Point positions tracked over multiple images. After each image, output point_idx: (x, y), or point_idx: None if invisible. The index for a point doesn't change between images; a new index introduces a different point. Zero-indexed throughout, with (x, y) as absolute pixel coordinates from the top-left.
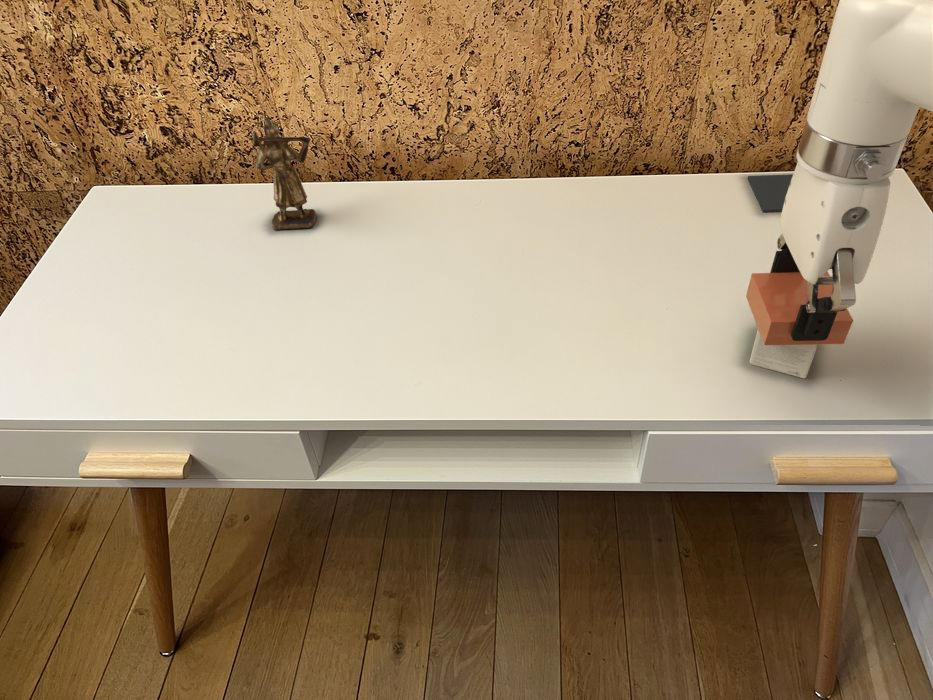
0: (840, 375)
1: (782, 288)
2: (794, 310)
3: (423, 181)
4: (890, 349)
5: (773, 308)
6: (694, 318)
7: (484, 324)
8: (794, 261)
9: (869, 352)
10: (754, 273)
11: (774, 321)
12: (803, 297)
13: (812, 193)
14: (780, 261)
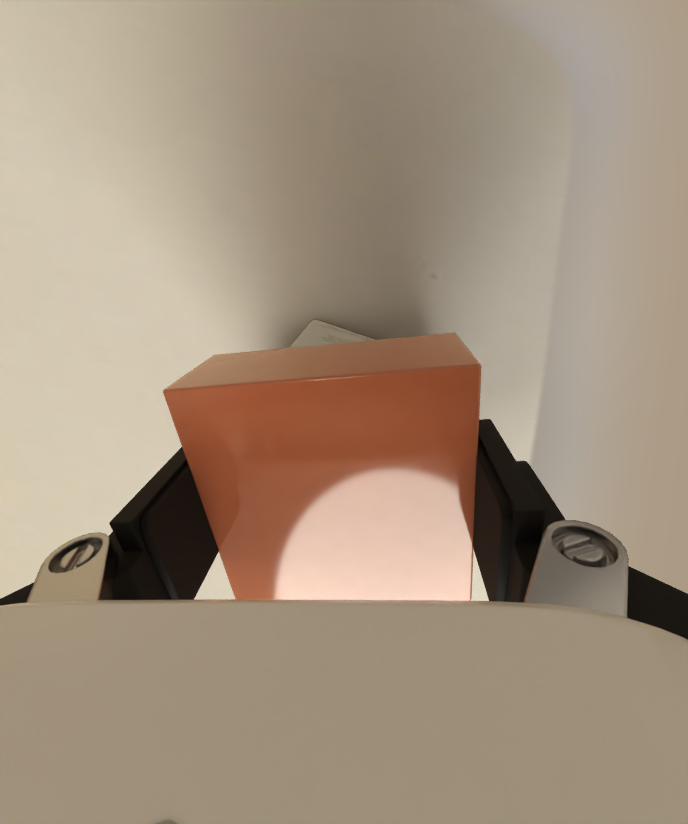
0: (415, 272)
1: (299, 546)
2: (415, 539)
3: None
4: (301, 92)
5: (405, 585)
6: None
7: None
8: (179, 543)
9: (322, 168)
10: (236, 596)
11: (468, 594)
12: (341, 500)
13: None
14: (193, 582)
